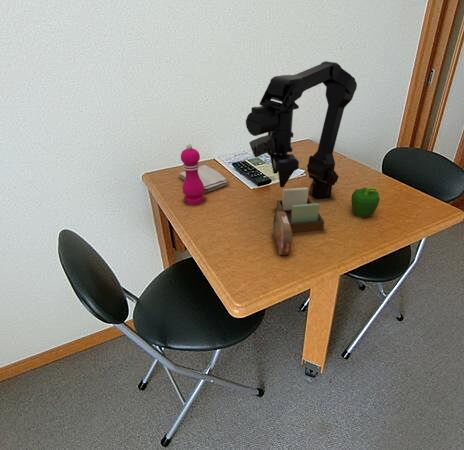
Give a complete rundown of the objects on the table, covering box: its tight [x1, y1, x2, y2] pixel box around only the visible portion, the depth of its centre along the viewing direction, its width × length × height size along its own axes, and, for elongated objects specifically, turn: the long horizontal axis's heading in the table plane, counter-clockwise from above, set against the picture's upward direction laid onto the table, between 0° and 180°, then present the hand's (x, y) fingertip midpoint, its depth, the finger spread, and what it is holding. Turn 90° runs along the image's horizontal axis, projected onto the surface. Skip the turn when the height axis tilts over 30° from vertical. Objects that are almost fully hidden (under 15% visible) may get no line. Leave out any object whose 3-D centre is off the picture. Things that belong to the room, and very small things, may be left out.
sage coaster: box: [291, 202, 321, 223], centre depth 99 cm, size 1×8×8 cm, turn 100°
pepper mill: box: [180, 143, 205, 206], centre depth 111 cm, size 7×7×20 cm
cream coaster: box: [281, 186, 310, 210], centre depth 108 cm, size 1×8×8 cm, turn 100°
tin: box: [272, 210, 293, 256], centre depth 93 cm, size 15×3×8 cm, turn 5°
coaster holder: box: [275, 197, 325, 235], centre depth 105 cm, size 14×11×4 cm
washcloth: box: [178, 165, 229, 195], centre depth 127 cm, size 12×18×3 cm, turn 39°
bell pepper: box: [350, 186, 381, 219], centre depth 107 cm, size 8×8×10 cm
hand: (278, 179), depth 100 cm, fingers open, 9 cm apart
